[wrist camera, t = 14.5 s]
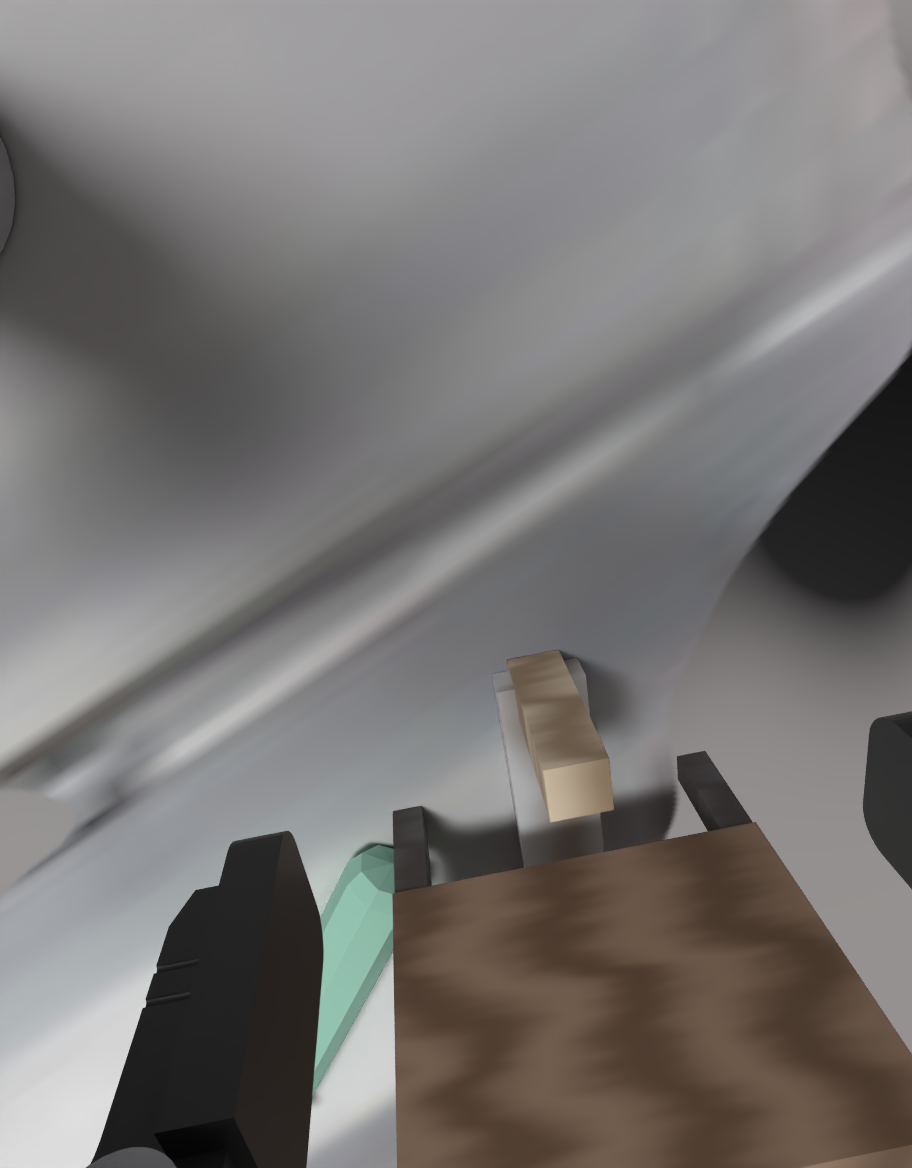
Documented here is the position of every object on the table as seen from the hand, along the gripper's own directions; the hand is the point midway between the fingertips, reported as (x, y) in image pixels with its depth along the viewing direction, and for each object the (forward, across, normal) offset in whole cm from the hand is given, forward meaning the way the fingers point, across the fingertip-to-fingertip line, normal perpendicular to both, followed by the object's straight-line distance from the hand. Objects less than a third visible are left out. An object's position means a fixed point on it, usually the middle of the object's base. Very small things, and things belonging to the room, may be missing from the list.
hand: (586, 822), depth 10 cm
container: (+29, +14, +36) cm, 48 cm away
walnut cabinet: (+28, -3, +28) cm, 40 cm away
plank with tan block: (+28, -3, +27) cm, 39 cm away
